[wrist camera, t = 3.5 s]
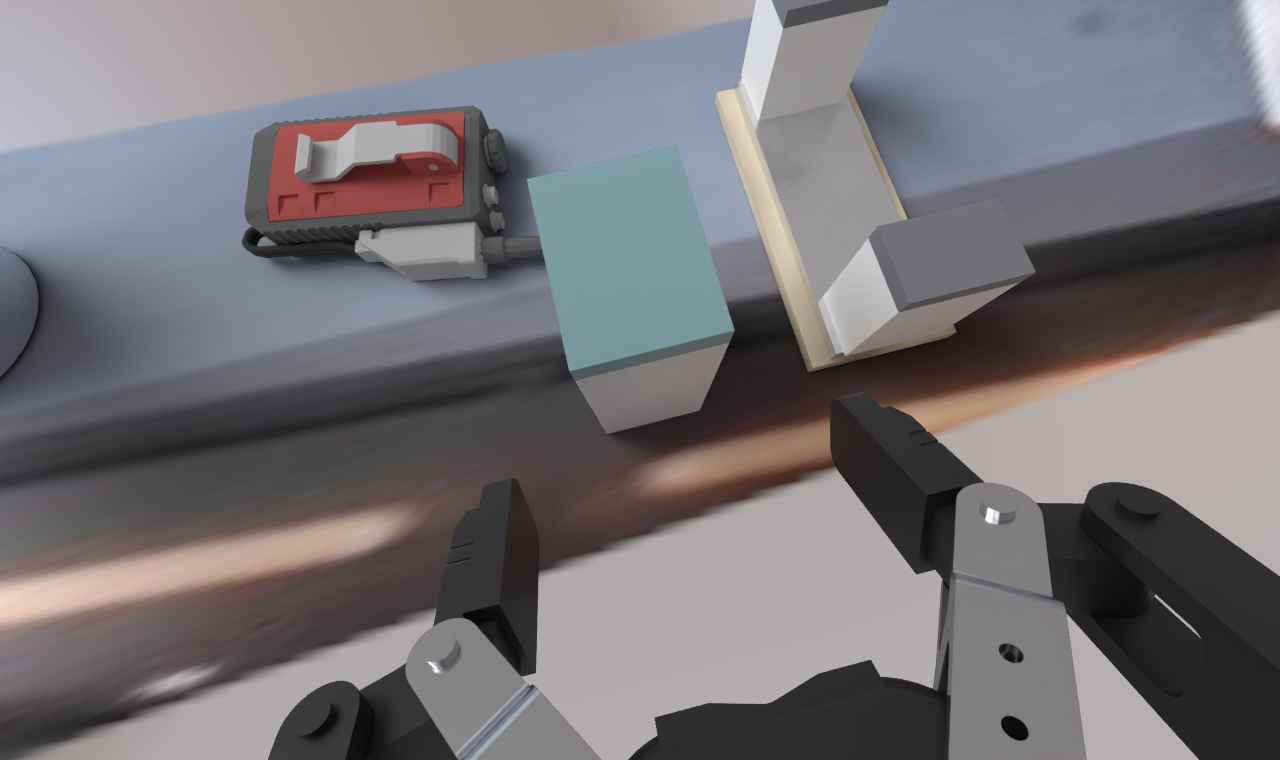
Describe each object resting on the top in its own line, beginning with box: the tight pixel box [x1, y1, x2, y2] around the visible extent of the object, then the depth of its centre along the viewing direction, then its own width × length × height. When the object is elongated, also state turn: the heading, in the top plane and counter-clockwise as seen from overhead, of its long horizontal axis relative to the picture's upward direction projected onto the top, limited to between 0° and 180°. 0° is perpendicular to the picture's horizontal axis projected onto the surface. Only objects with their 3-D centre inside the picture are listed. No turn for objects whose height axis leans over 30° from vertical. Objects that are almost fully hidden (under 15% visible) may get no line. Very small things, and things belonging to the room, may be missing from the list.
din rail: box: [734, 78, 900, 359], centre depth 25 cm, size 5×16×1 cm, turn 14°
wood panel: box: [715, 86, 956, 372], centre depth 26 cm, size 7×16×1 cm, turn 14°
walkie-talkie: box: [242, 106, 544, 281], centre depth 26 cm, size 9×4×20 cm
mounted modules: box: [741, 0, 1035, 356], centre depth 22 cm, size 4×16×6 cm, turn 14°
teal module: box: [527, 145, 735, 434], centre depth 20 cm, size 4×6×11 cm
